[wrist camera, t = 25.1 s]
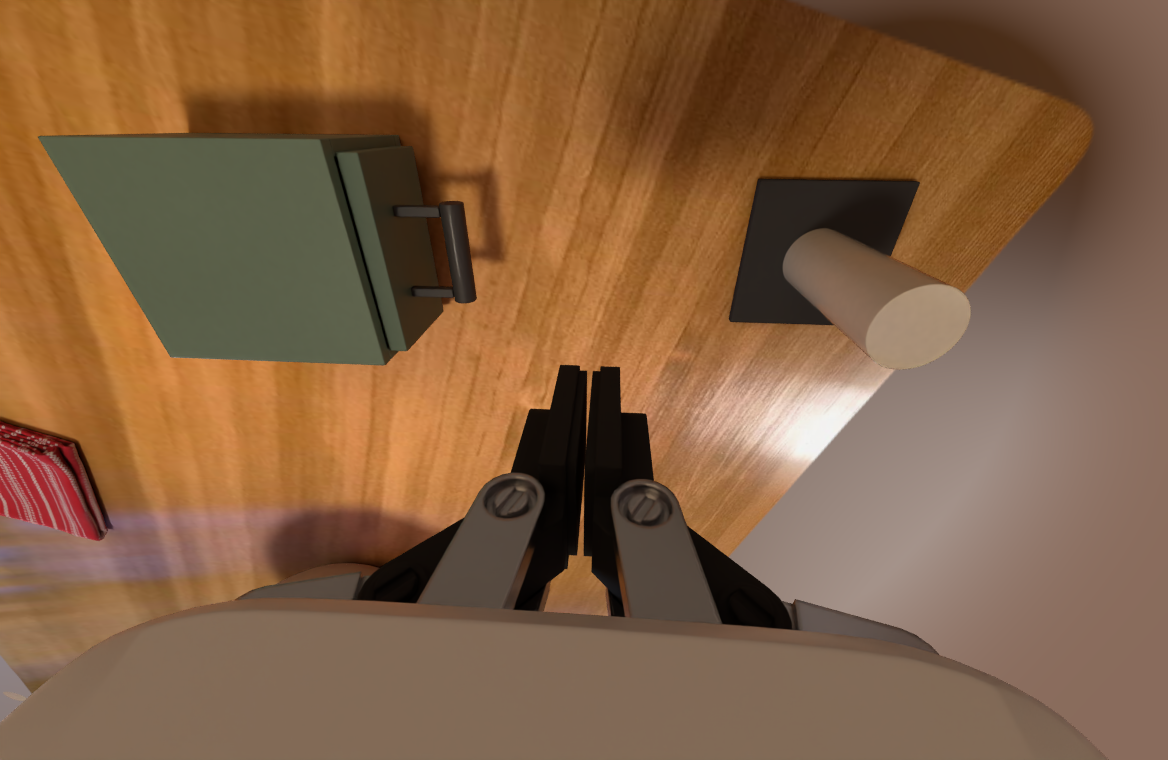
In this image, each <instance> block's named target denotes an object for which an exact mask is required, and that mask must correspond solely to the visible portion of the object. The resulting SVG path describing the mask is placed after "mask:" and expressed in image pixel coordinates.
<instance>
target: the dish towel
mask: <svg viewBox="0 0 1168 760" xmlns="http://www.w3.org/2000/svg"><path fill="white" fill-rule="evenodd" d="M0 515H2V516H6V517H9V518H15V519H19V520H23V521H27V522H30V523H34V524H38V525H44V526H48V527H51V528H54V529H57V530H62V531H65V532H67V533H69V534H73V535H75V536H79V537H84V538H88V539H92V540H96V541H100V540H102V539H104V537H105V535H106V533H107V531H108V529H107V527H106V525H105V522H104V518H103V516H102V513H101V510H100V508H99V505H98V503H97V500H96V497H95V495H94V492H93V489H92V487H91V484H90V482H89V479H88V476H87V473H86V471H85V468H84V466H83V464H82V462H81V460H80V458H79V456H78V453H77V450H76V448H75V444H74V443H72V442H69V441H65V440H62V439H59V438H57V437H53V436H49V435H45V434H42V433H38V432H34V431H31V430H28V429H26V428H20V427H16V426H13V425H11V424H6V423H4V422H1V421H0Z"/></svg>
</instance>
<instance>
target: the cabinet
mask: <svg viewBox="0 0 1168 760" xmlns="http://www.w3.org/2000/svg"><path fill="white" fill-rule="evenodd" d="M38 138H39V140H40V141H41V143H42V145H43V146H44V148H45V150H46V151H47V153H48V155H49V156H50V158H51V160H52V161H53V163H54V165H55V166H56V168H57V170H58V171H59V173H60V175H61V176H62V178H63V180H64V181H65V183H66V185H67V186H68V188H69V189H70V191H71V193H72V194H73V196H74V198H75V199H76V201H77V203H78V204H79V206H80V208H81V209H82V211H83V213H84V214H85V216H86V218H87V219H88V221H89V223H90V224H91V226H92V228H93V229H94V231H95V233H96V234H97V236H98V238H99V239H100V241H101V243H102V244H103V246H104V247H105V249H106V251H107V252H108V254H109V256H110V257H111V259H112V261H113V262H114V264H115V266H116V267H117V269H118V271H119V272H120V274H121V276H122V277H123V279H124V281H125V282H126V284H127V286H128V287H129V289H130V291H131V292H132V294H133V296H134V297H135V299H136V301H137V302H138V304H139V305H140V307H141V309H142V310H143V312H144V314H145V315H146V317H147V319H148V320H149V322H150V324H151V325H152V327H153V329H154V330H155V332H156V334H157V335H158V337H159V339H160V340H161V342H162V344H163V345H164V347H165V349H166V350H167V352H168V354H169V355H170V357H176V358H203V359H230V360H256V361H283V362H309V363H336V364H363V365H386V364H387V363H388V362H389V361H390V359H392V358H393V357H394V355H395V354H396V353H397V352H398V351H391V350H390V349H389V345H388V342H387V338H386V334H385V331H384V327H381V324H380V320H379V317H378V313H377V310H376V306H375V302H374V299H373V295H372V292H371V288H370V285H369V281H368V277H367V274H366V270H365V267H364V263H363V260H362V256H361V252H360V249H359V245H358V242H357V238H356V234H355V231H354V227H353V224H352V220H351V217H350V213H349V209H348V206H347V202H346V199H345V195H344V192H343V188H342V184H341V181H340V177H339V174H338V170H337V166H336V163H335V159H334V158H337V157H336V152H341V151H351V150H361V149H371V148H381V147H391V146H401V144H400V139H399V135H359V134H251V133H159V134H110V135H60V136H39V137H38Z"/></svg>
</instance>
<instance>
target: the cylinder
mask: <svg viewBox="0 0 1168 760" xmlns="http://www.w3.org/2000/svg"><path fill="white" fill-rule="evenodd" d="M783 274H784V277H785V279H786V281H787V282H788V283H789V284H790V285H791V286H792V287H793V288H794V289H795V290H796V291H797V292H798V293H800V294H801V295H802V296H803V297H804V298H805V299H806V300H807V301H808V302H809V303H810V304H812V305H813V306H814V307H815V308H816V309H817V310H818V311H819V312H820V313H821V314H823V315H824V316H825V317H826V318H827V319H828V320H829V321H830V322H831V323H832V324H834V325H835V326H836V327H837V328H838V329H839V330H840V331H841V332H842V333H843V334H844V335H846V336H847V337H848V338H849V339H850V340H851V341H852V342H853V343H854V344H855V345H857V346H858V347H859V348H860V349H861V350H862V351H863V352H864V353H865V354H866V355H868V356H869V357H870V358H871V359H872V360H873V361H874V362H876V363H877V364H879V365H880V366H883V367H886V368H890V369H911V368H915V367H919V366H922V365H925V364H927V363H930V362H932V361H934V360H936V359H937V358H939V357H941V356H942V355H944V354H945V353H946V352H948V351H949V350H950V349H951V348H952V347H953V346H954V345H955V344H956V343H957V342H958V341H959V340H960V338H961V337H962V336H963V334H964V332H965V331H966V329H967V327H968V324H969V321H970V316H971V307H970V303H969V301H968V298H967V297H966V296H965V294H964V293H963V292H962V291H960V290H959V289H957V288H955V287H953V286H951V285H949V284H947V283H945V282H943V281H941V280H939V279H937V278H934V277H932V276H930V275H928V274H926V273H924V272H922V271H920V270H918V269H916V268H914V267H911V266H909V265H907V264H905V263H903V262H901V261H899V260H897V259H895V258H893V257H891V256H888V255H886V254H884V253H882V252H880V251H878V250H876V249H874V248H872V247H870V246H868V245H865V244H863V243H861V242H859V241H857V240H855V239H853V238H851V237H849V236H847V235H845V234H842V233H840V232H838V231H836V230H833V229H828V228H822V229H816V230H813V231H810V232H808V233H806V234H804V235H802V236H801V237H800V238H798V239H797V240H796V241H795V242H794V243H793V244H792V245H791V247H790V248H789V249H788V251H787V253H786V255H785V258H784V261H783Z"/></svg>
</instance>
